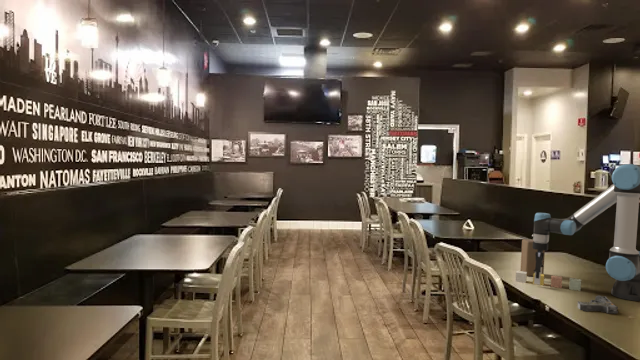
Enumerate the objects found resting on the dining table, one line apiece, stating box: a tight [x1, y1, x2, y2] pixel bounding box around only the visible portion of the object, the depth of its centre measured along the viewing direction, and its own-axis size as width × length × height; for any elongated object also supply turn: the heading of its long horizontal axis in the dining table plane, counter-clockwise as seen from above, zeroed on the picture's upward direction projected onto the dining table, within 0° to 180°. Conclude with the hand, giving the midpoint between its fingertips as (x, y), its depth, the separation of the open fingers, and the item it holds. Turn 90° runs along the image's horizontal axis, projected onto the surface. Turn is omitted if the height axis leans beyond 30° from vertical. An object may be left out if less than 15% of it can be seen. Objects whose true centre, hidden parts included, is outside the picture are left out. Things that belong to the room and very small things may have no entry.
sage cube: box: [568, 277, 582, 292], centre depth 234 cm, size 5×5×5 cm
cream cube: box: [515, 270, 528, 284], centre depth 247 cm, size 5×5×5 cm
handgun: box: [577, 295, 619, 315], centre depth 205 cm, size 4×20×15 cm
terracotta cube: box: [550, 275, 563, 289], centre depth 238 cm, size 5×5×5 cm
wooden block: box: [519, 238, 546, 277], centre depth 263 cm, size 10×10×20 cm
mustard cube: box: [532, 273, 545, 286], centre depth 242 cm, size 5×5×5 cm
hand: (537, 281), depth 243 cm, fingers open, 13 cm apart
